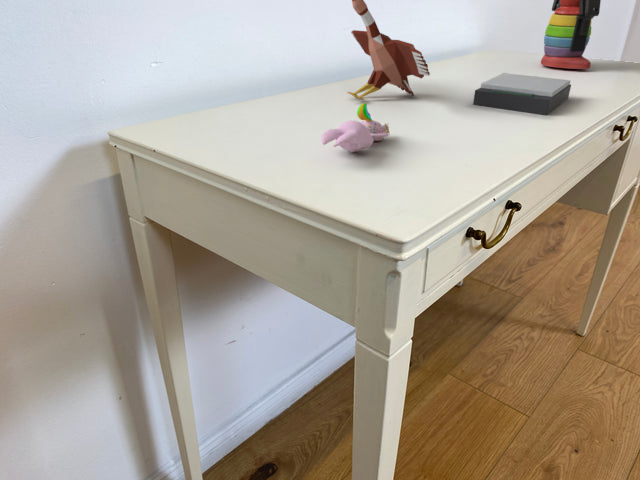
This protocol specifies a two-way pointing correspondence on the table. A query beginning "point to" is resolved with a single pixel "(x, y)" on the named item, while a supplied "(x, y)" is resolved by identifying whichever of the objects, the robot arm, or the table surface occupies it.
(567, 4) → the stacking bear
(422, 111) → the table surface
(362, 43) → the decorative bird
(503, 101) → the scale
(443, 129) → the table surface
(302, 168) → the table surface
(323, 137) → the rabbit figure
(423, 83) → the table surface
